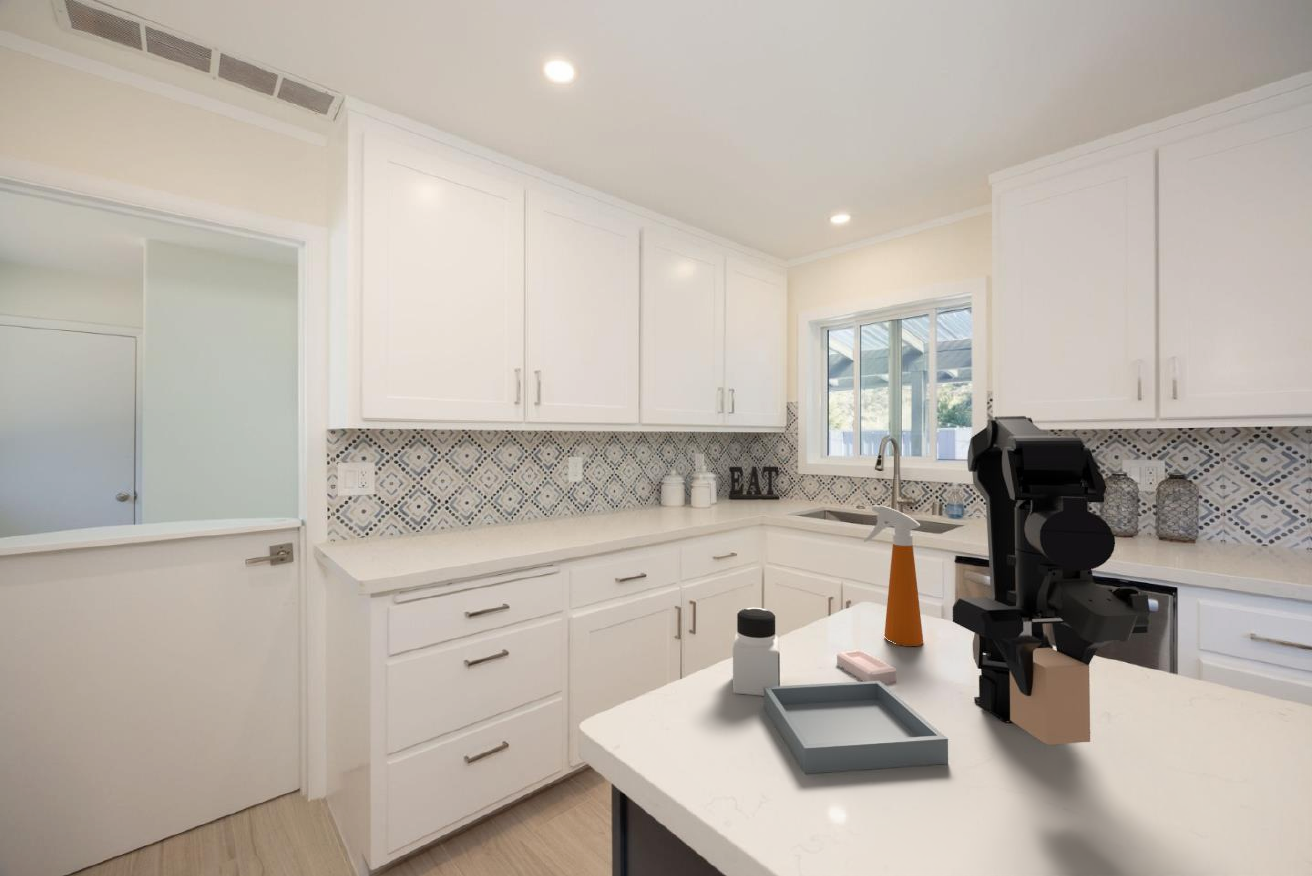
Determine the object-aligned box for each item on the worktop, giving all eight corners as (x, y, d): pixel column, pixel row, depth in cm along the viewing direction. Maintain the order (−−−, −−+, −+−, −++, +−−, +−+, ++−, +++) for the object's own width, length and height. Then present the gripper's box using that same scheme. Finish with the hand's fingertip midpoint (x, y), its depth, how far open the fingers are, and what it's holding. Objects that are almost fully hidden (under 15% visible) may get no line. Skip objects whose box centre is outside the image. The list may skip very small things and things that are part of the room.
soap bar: (871, 688, 86) (870, 672, 86) (835, 665, 95) (835, 652, 95) (898, 683, 88) (898, 668, 88) (860, 661, 96) (860, 648, 96)
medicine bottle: (779, 698, 82) (779, 619, 82) (732, 694, 83) (732, 616, 83) (778, 678, 89) (778, 605, 89) (735, 674, 90) (734, 603, 90)
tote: (879, 700, 81) (879, 680, 81) (948, 763, 65) (947, 738, 65) (763, 707, 79) (763, 687, 79) (805, 774, 63) (804, 748, 63)
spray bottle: (869, 628, 112) (868, 502, 113) (926, 638, 106) (925, 505, 106) (860, 638, 107) (859, 506, 107) (920, 650, 100) (918, 509, 101)
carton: (1050, 717, 61) (1049, 647, 62) (1090, 741, 56) (1089, 665, 57) (1010, 720, 61) (1009, 649, 61) (1046, 744, 56) (1045, 668, 56)
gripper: (1026, 570, 50) (1028, 738, 50) (1203, 565, 52) (1206, 727, 52) (948, 547, 61) (950, 685, 61) (1097, 543, 63) (1099, 677, 63)
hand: (1048, 693), depth 59 cm, fingers closed on carton, 5 cm apart
